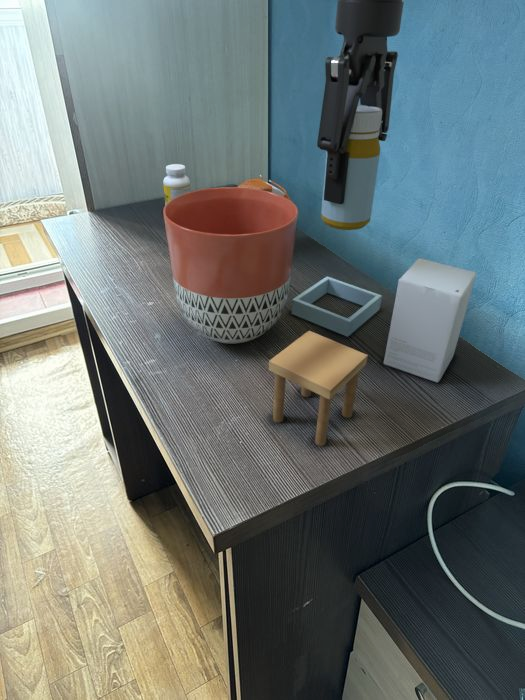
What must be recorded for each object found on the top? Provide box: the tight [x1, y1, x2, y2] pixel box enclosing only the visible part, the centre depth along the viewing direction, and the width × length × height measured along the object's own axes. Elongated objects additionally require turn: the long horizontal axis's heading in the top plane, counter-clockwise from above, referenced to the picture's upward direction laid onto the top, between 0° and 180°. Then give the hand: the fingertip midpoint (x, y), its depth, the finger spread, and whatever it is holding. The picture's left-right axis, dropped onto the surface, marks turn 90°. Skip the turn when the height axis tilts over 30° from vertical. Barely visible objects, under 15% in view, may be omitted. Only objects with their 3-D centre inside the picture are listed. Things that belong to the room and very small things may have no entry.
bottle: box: [320, 104, 382, 231], centre depth 70 cm, size 7×7×15 cm
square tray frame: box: [291, 276, 383, 338], centre depth 93 cm, size 12×12×3 cm
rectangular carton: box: [383, 257, 478, 383], centre depth 78 cm, size 9×9×15 cm
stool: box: [268, 330, 369, 447], centre depth 68 cm, size 9×9×10 cm
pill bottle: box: [162, 163, 191, 205], centre depth 128 cm, size 6×6×12 cm
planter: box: [162, 186, 299, 345], centre depth 81 cm, size 20×20×21 cm
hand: (348, 194), depth 72 cm, fingers closed on bottle, 7 cm apart
